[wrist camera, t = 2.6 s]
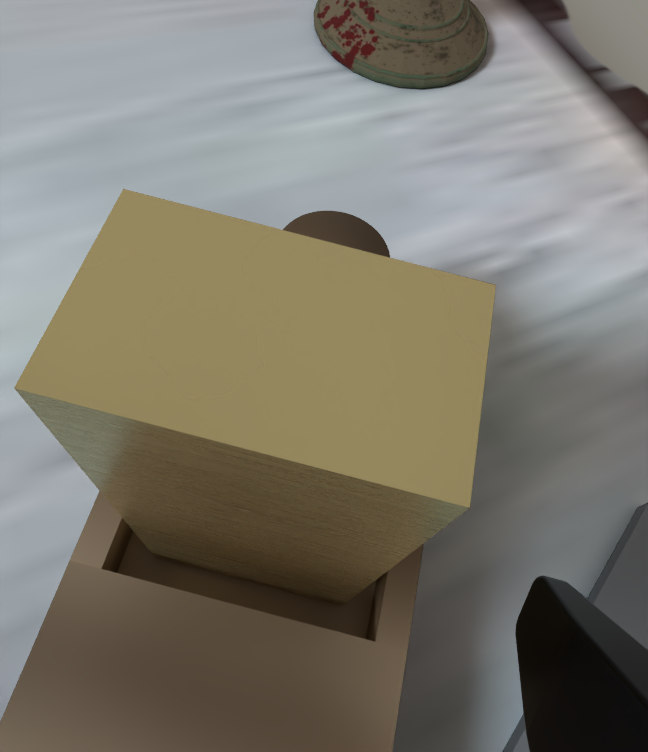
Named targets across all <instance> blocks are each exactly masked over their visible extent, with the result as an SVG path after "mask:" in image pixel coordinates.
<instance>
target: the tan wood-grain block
mask: <svg viewBox="0 0 648 752" xmlns="http://www.w3.org/2000/svg"><path fill="white" fill-rule="evenodd" d="M495 289H496V285H494V284H490V283H486V282H482V281H478V280H474V279H470V278H467V277H463V276H459V275H455V274H451V273H447V272H443V271H439V270H435V269H432V268H428V267H424V266H420V265H416V264H412V263H408V262H404V261H401V260H397V259H393V258H389V257H385V256H381V255H377V254H373V253H370V252H366V251H362V250H358V249H354V248H350V247H346V246H342V245H339V244H335V243H331V242H327V241H323V240H319V239H315V238H311V237H308V236H304V235H300V234H296V233H292V232H288V231H284V230H280V229H277V228H273V227H269V226H265V225H261V224H257V223H253V222H249V221H246V220H242V219H238V218H234V217H230V216H226V215H222V214H218V213H215V212H211V211H207V210H203V209H199V208H195V207H191V206H187V205H184V204H180V203H176V202H172V201H168V200H164V199H160V198H156V197H153V196H149V195H145V194H141V193H137V192H133V191H129V190H125V189H123V191H122V193H121V194H120V196H119V198H118V200H117V202H116V204H115V205H114V207H113V209H112V211H111V213H110V214H109V216H108V218H107V220H106V222H105V224H104V225H103V227H102V229H101V231H100V233H99V235H98V236H97V238H96V240H95V242H94V244H93V245H92V247H91V249H90V251H89V253H88V255H87V256H86V258H85V260H84V262H83V264H82V265H81V267H80V269H79V271H78V273H77V275H76V276H75V278H74V280H73V282H72V284H71V286H70V287H69V289H68V291H67V293H66V295H65V296H64V298H63V300H62V302H61V304H60V306H59V307H58V309H57V311H56V313H55V315H54V317H53V318H52V320H51V322H50V324H49V326H48V327H47V329H46V331H45V333H44V335H43V337H42V338H41V340H40V342H39V344H38V346H37V348H36V349H35V351H34V353H33V355H32V357H31V358H30V360H29V362H28V364H27V366H26V368H25V369H24V371H23V373H22V375H21V377H20V379H19V380H18V382H17V384H16V386H15V390H16V391H17V392H18V393H19V394H20V396H21V397H22V398H23V399H24V400H25V402H26V403H27V404H28V405H29V406H30V408H31V409H32V410H33V411H34V412H35V414H36V415H37V416H38V417H39V418H40V420H41V421H42V422H43V423H44V424H45V426H46V427H47V428H48V429H49V430H50V432H51V433H52V434H53V435H54V436H55V438H56V439H57V440H58V441H59V442H60V444H61V445H62V446H63V447H64V448H65V450H66V451H67V452H68V453H69V454H70V456H71V457H72V458H73V459H74V460H75V462H76V463H77V464H78V465H79V466H80V468H81V469H82V470H83V471H84V472H85V474H86V475H87V476H88V477H89V478H90V480H91V481H92V482H93V483H94V484H95V486H96V487H97V488H98V489H99V490H100V492H101V493H102V494H103V495H104V496H105V498H106V499H107V500H108V501H109V502H110V504H111V505H112V506H113V507H114V508H115V510H116V511H117V512H118V513H119V514H120V516H121V517H122V518H123V519H124V520H125V522H126V523H127V524H128V525H129V526H130V528H131V529H132V530H133V531H134V532H135V534H136V535H137V536H138V537H139V538H140V540H141V541H142V542H143V543H144V544H145V546H146V547H147V548H148V549H149V550H150V552H151V553H152V554H153V555H154V556H155V557H159V558H163V559H167V560H170V561H174V562H178V563H182V564H185V565H189V566H193V567H197V568H200V569H204V570H208V571H212V572H216V573H219V574H223V575H227V576H231V577H234V578H238V579H242V580H246V581H250V582H253V583H257V584H261V585H265V586H268V587H272V588H276V589H280V590H283V591H287V592H291V593H295V594H299V595H302V596H306V597H310V598H314V599H317V600H321V601H325V602H329V603H332V604H336V605H340V606H343V605H344V604H345V603H347V602H348V601H349V600H351V599H352V598H353V597H354V596H356V595H357V594H358V593H360V592H361V591H362V590H364V589H365V588H366V587H367V586H369V585H370V584H371V583H373V582H374V581H375V580H377V579H378V578H379V577H380V576H382V575H383V574H384V573H386V572H387V571H388V570H390V569H391V568H392V567H393V566H395V565H396V564H397V563H399V562H400V561H401V560H403V559H404V558H405V557H406V556H408V555H409V554H410V553H412V552H413V551H414V550H416V549H417V548H418V547H419V546H421V545H422V544H423V543H425V542H426V541H427V540H429V539H430V538H431V537H432V536H434V535H435V534H436V533H438V532H439V531H440V530H442V529H443V528H444V527H445V526H447V525H448V524H449V523H451V522H452V521H453V520H455V519H456V518H457V517H458V516H460V515H461V514H462V513H464V512H465V511H466V510H468V509H469V508H470V502H471V493H472V485H473V476H474V468H475V459H476V451H477V442H478V434H479V425H480V417H481V408H482V399H483V391H484V382H485V374H486V365H487V357H488V348H489V340H490V331H491V323H492V314H493V306H494V297H495Z"/></svg>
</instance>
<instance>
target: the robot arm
mask: <svg viewBox="0 0 648 752" xmlns="http://www.w3.org/2000/svg"><path fill="white" fill-rule="evenodd" d="M516 643H517V653H518V662H519V672H520V682H521V692H522V701H523V711H524V720H525V728H526V735H527V740H528V745H529V751H530V752H648V650H647V649H646V648H645V647H644V646H643V645H641V644H640V643H639V642H638V641H637V640H635V639H634V638H633V637H632V636H631V635H630V634H628V633H627V632H626V631H625V630H624V629H622V628H621V627H620V626H619V625H618V624H616V623H615V622H614V621H613V620H612V619H610V618H609V617H608V616H607V615H606V614H604V613H603V612H602V611H601V610H600V609H598V608H597V607H596V606H595V605H594V604H592V603H591V602H590V601H589V600H588V599H586V598H585V597H584V596H583V595H582V594H580V593H579V592H578V591H577V590H576V589H574V588H573V587H572V586H571V585H570V584H568V583H567V582H565V581H562V580H558V579H554V578H550V577H547V576H539V577H537V578H536V579H535V581H534V582H533V584H532V586H531V589H530V591H529V593H528V596H527V598H526V600H525V603H524V605H523V607H522V610H521V612H520V614H519V617H518V620H517V624H516Z"/></svg>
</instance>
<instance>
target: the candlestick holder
mask: <svg viewBox="0 0 648 752" xmlns="http://www.w3.org/2000/svg"><path fill="white" fill-rule="evenodd" d="M314 25H315V31H316V33H317V35H318V37H319V39H320V41H321V43H322V45H323V46H324V47H325V49H326V50H327V51H328V52H329V53H330V54H331V55H332V56H333V57H334V58H335V59H336V60H337V61H338V62H340V63H341V64H343V65H344V66H346V67H347V68H349V69H350V70H351V71H353V72H355V73H357V74H359V75H361V76H364V77H366V78H368V79H371V80H373V81H375V82H379V83H383V84H388V85H392V86H396V87H405V88H420V89H422V88H430V87H438V86H444V85H447V84H450V83H453V82H456V81H458V80H461V79H463V78H464V77H466V76H467V75H469V74H470V73H471V72H473V71H474V70H475V69H476V68H477V67H478V65H479V64H480V62H481V61H482V59H483V57H484V56H485V54H486V48H487V41H488V30H487V26H486V23H485V19H484V18H483V16H482V15H481V13H480V12H479V10H478V9H477V7H476V6H475V5H474V4H473V3H472V2H471V1H470V0H318V1H317V4H316V7H315V10H314Z"/></svg>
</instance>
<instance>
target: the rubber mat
mask: <svg viewBox="0 0 648 752" xmlns="http://www.w3.org/2000/svg"><path fill="white" fill-rule="evenodd" d="M587 599H588V600H589V601H590V602H591V603H592V604H594V605H595V606H596V607H597V608H598V609H600V610H601V611H602V612H603V613H604V614H606V615H607V616H608V617H609V618H610V619H612V620H613V621H614V622H615V623H616V624H618V625H619V626H620V627H621V628H622V629H624V630H625V631H626V632H627V633H628V634H630V635H631V636H632V637H633V638H634V639H635V640H637V641H638V642H639V643H640V644H641V645H643V646H644V647H645V648H646V649H647V650H648V503H646V504H644V505H642V506H640V507H638V508H637V510H636V512H635V514H634V515H633V517H632V519H631V521H630V523H629V524H628V526H627V528H626V530H625V532H624V533H623V535H622V537H621V539H620V541H619V542H618V544H617V546H616V548H615V550H614V551H613V553H612V555H611V557H610V559H609V561H608V562H607V564H606V566H605V568H604V570H603V571H602V573H601V575H600V577H599V579H598V580H597V582H596V584H595V586H594V588H593V589H592V591H591V593H590V595H589V597H588V598H587ZM503 752H530V751H529V745H528V740H527V735H526V728H525V720H524V714H523V716H522V718H521V720H520V721H519V723H518V725H517V727H516V729H515V730H514V732H513V734H512V736H511V738H510V739H509V741H508V743H507V745H506V747H505V749H504V750H503Z"/></svg>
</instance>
